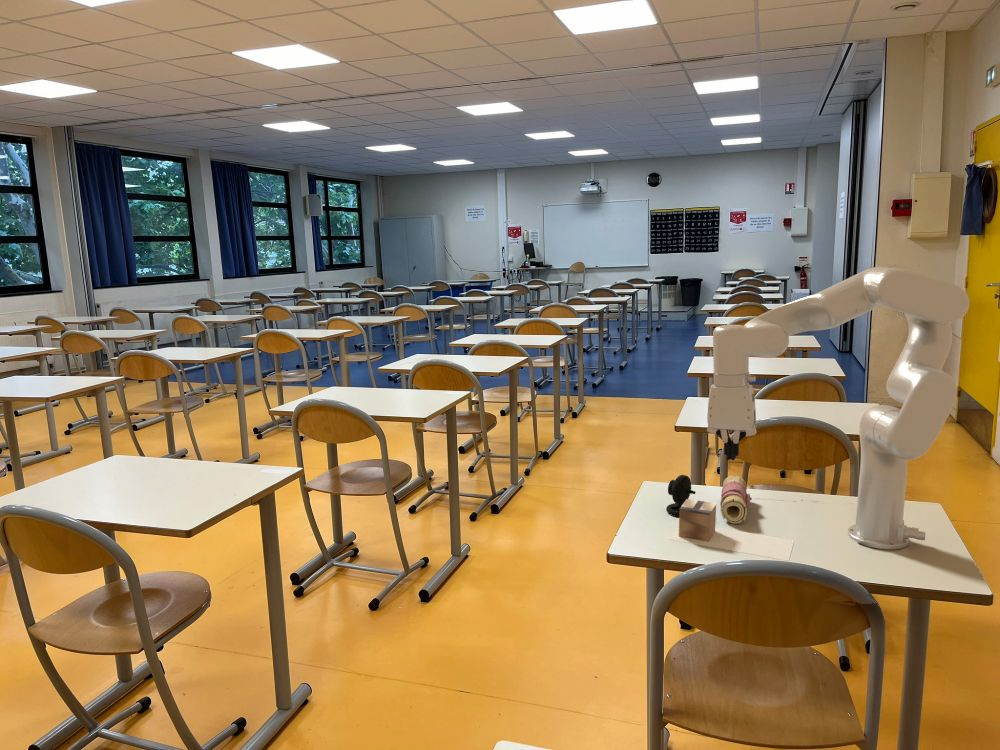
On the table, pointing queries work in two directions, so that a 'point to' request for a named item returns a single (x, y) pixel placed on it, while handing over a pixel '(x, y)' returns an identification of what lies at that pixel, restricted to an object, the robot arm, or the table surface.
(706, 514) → the block
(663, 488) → the table surface
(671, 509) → the webcam
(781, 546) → the mat
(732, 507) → the scroll
